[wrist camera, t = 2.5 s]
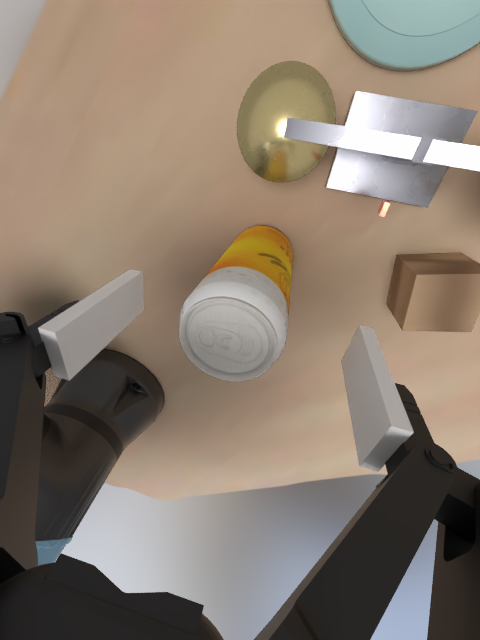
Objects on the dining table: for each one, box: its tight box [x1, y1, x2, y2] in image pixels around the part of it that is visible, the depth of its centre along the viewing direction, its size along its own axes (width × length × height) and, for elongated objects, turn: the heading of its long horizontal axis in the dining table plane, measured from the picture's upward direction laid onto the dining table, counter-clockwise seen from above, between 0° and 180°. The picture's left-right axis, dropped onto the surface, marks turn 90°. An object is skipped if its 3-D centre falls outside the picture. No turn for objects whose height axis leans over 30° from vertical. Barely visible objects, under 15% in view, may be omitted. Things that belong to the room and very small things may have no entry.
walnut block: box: [386, 253, 480, 332], centre depth 22 cm, size 5×5×5 cm
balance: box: [237, 61, 480, 216], centre depth 16 cm, size 22×7×9 cm, turn 81°
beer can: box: [179, 226, 293, 381], centre depth 20 cm, size 6×6×15 cm
